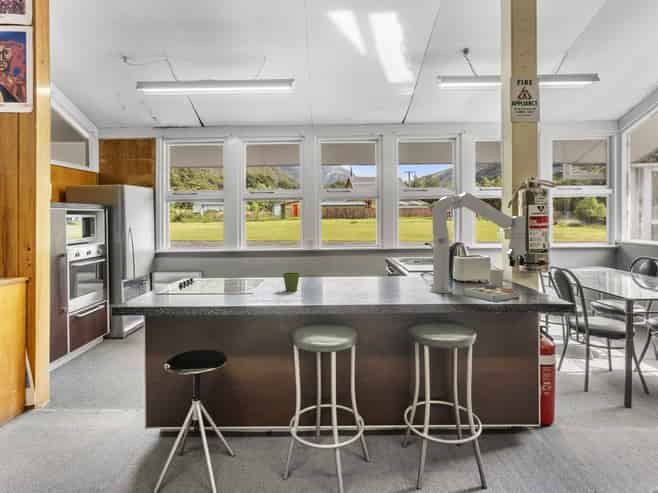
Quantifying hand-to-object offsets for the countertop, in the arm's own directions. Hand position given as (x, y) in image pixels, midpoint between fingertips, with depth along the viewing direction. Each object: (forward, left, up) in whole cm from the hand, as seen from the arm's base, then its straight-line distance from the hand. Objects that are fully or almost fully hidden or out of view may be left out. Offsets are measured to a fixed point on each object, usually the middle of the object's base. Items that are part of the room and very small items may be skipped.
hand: (516, 265), depth 245 cm
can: (-27, +16, -18) cm, 36 cm away
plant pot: (-84, -110, -18) cm, 140 cm away
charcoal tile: (-12, -8, -15) cm, 21 cm away
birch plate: (-6, -10, -18) cm, 21 cm away
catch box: (-6, -21, -18) cm, 28 cm away
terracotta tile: (0, -8, -15) cm, 17 cm away
